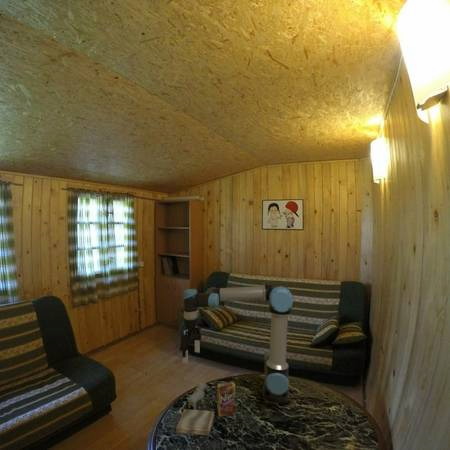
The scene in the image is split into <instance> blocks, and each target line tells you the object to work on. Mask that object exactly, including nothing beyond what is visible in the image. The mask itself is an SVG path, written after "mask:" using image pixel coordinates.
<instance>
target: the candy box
mask: <svg viewBox="0 0 450 450" xmlns="http://www.w3.org/2000/svg"><path fill="white" fill-rule="evenodd" d="M216 389H217V391H216V392H217V393H216V395H217V399H216V400H217V401H216V402H217V404H216V405H217V408H216V409H217V411H216V412H217V415H218V418H220V417H227V416H231V415H233V416H234V415H236V384H235V382H234V381H233V380H231V381H226V382H225V381H224V382H223V381H222V382H218V383H217V388H216Z"/></svg>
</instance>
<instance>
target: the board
mask: <svg viewBox="0 0 450 450" xmlns="http://www.w3.org/2000/svg"><path fill="white" fill-rule="evenodd" d="M214 419H215V411H214V410H212V411H211V410H200V409H196V410H194V409H186V408H184V409H183V410H182V414H181V415H180V418H179V420H178V423H177V425H176V427H175V433H176V434H187V435H202V436H210V434H211V430H212V427H213V422H214Z"/></svg>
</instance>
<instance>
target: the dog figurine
mask: <svg viewBox="0 0 450 450" xmlns="http://www.w3.org/2000/svg"><path fill="white" fill-rule="evenodd" d="M205 389H207V384H206V382H202V381H198V384H197V387H196V388H195V391H194V392H193V393H192V394H191V395H189V396H188V399H187V401H188V405H187V406H188V410H191V408H193V410H197V403H199V401H200V403H201V405H205V402H204V398H205ZM191 406H192V407H191Z"/></svg>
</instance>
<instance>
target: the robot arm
mask: <svg viewBox="0 0 450 450" xmlns="http://www.w3.org/2000/svg"><path fill="white" fill-rule="evenodd" d="M182 296H183V297H182V302H183V326H184V328H185V330H182V337H181V341H180V347H179V351H181V352H182V363H183V364H188V363H189V362H188V361H189V356H188V351H189V350H188V346H189V344H190V343H189V342H190V341H191V338H192V337H193V338H194V339H195V340H194V352H195V353H198V354H200V351H201V350H200V348H201V347H200V344H201V343H200V341H202V333H201V330H200V326H199V323H198V320H199V319H198V316H199V315H198V308H211V309H212V308H213V309H214V308H218V307H219V304H220V302H231V301H233V302H234V301H238V302H239V301H259V300H260V301H264V302H269V303H268V313H270V314H271V315H270V316H271V318H270V320H271V321H270V336H269V337H270V338H269V343H270V344H269V352H267V353H265V355H264V383H263V385H262V389H261V393H262V394H261V395H262V397H263V399H265V401H269V402H271V403H274V404H275V403H277V404H281V403H284V402H286V401H288V399H289V398H290V391H289V389H290V388H289V387H290V381H289V366H290V365H289V364H288V362H287V343H288V342H287V341H288V324H289V323H288V321H289V317H290V315H292V307H293V303H294V298H293V297H294V296H293V294H292V292H291V291H290V290H289V288H288V287H287V286H286V284H284V283H280V282H278V283H268V284H267V283H266V284H263V285H261V286H257V285H256V286H243V287H242V286H241V287H240V286H239V287H236V286H235V287H220V288H218V287H217V288H216V287H214V286H213V287H210V288H207V290H206V292H205V293H204V292H202V293H201V292H199V293H198V290H197V289H196V288H187V289H185V290H184V291H183V295H182Z"/></svg>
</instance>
